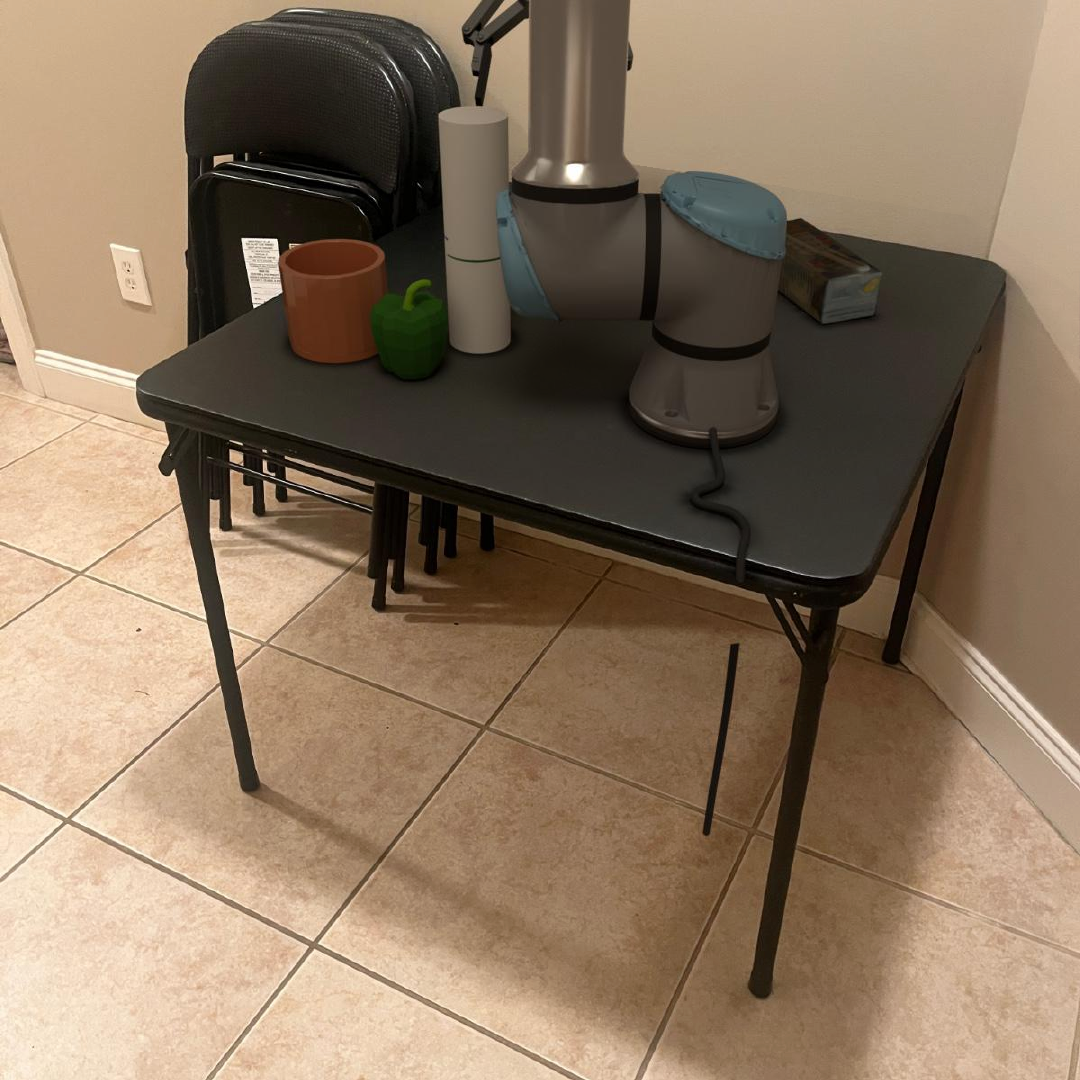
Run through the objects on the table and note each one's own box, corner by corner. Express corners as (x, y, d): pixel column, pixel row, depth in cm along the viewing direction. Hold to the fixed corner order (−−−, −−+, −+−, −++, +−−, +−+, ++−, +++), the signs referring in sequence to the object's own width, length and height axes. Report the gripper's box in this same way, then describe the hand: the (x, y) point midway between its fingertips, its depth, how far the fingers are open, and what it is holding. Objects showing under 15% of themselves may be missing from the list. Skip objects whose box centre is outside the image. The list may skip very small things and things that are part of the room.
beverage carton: (818, 326, 123) (828, 274, 119) (743, 268, 138) (749, 220, 134) (875, 317, 125) (886, 265, 121) (795, 261, 140) (802, 213, 136)
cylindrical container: (500, 323, 123) (496, 104, 108) (518, 348, 118) (517, 121, 103) (443, 331, 121) (431, 109, 106) (458, 357, 116) (448, 126, 101)
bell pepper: (378, 390, 109) (369, 302, 103) (372, 356, 116) (364, 271, 110) (456, 383, 111) (451, 296, 105) (446, 350, 117) (442, 266, 111)
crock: (393, 360, 115) (386, 275, 109) (288, 366, 114) (275, 280, 108) (390, 317, 124) (383, 236, 118) (292, 322, 123) (280, 241, 117)
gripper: (668, -26, 124) (638, 143, 123) (465, -60, 124) (434, 109, 124) (675, -66, 116) (643, 115, 116) (460, -101, 117) (427, 79, 116)
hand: (535, 112), depth 120 cm, fingers open, 13 cm apart
